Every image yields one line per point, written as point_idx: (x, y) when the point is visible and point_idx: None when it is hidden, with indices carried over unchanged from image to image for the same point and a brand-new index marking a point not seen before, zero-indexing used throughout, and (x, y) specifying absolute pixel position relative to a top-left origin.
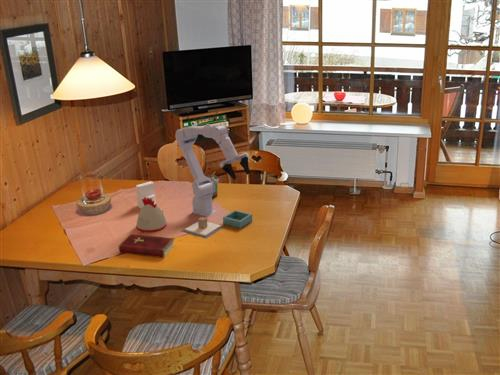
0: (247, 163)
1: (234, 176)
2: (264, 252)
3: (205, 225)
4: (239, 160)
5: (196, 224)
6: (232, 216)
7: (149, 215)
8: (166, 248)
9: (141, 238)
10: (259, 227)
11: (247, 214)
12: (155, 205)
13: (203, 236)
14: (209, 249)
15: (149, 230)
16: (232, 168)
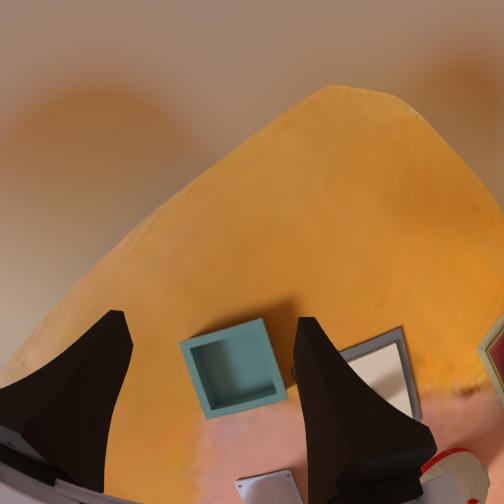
0: (48, 371)
1: (322, 330)
2: (304, 137)
3: None
4: (94, 494)
5: None
6: (234, 401)
7: (483, 478)
8: None
9: None
10: (198, 284)
11: (192, 356)
12: (476, 500)
13: (397, 346)
14: (423, 259)
15: (471, 453)
16: (331, 399)
